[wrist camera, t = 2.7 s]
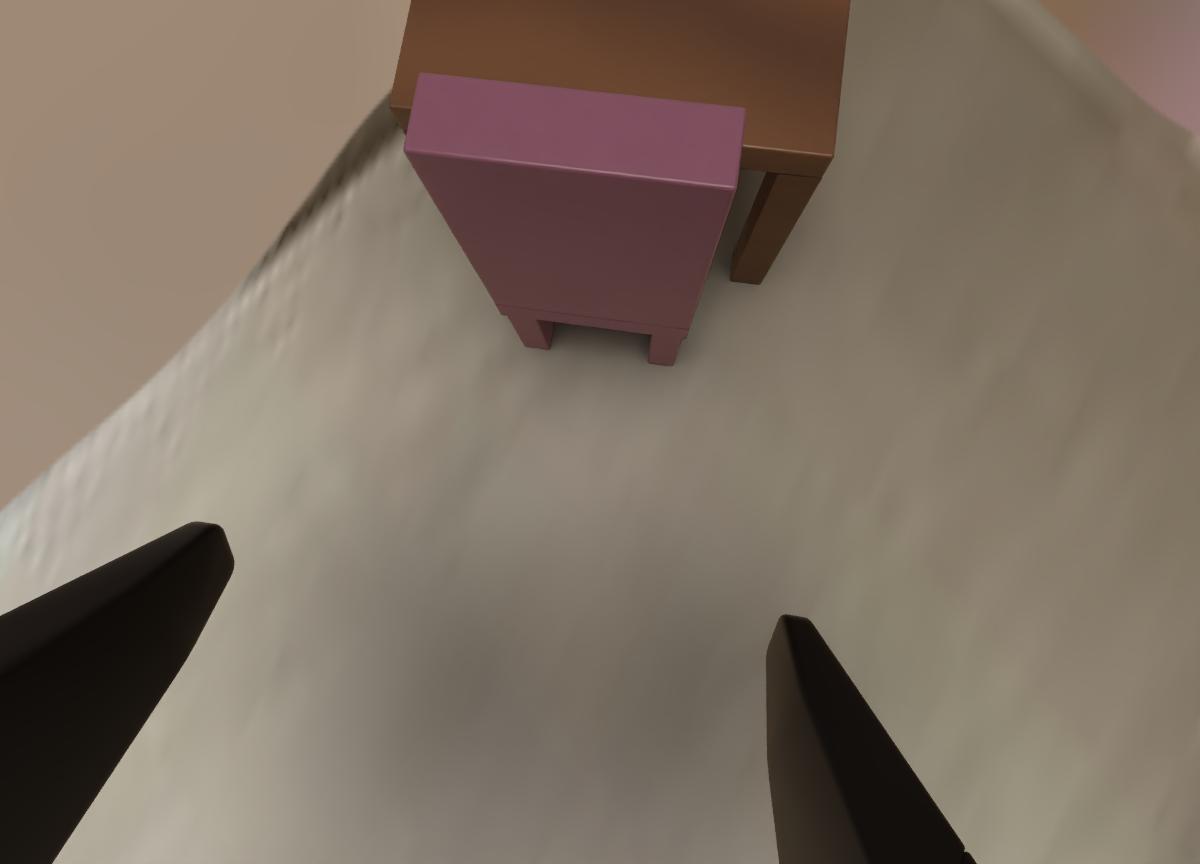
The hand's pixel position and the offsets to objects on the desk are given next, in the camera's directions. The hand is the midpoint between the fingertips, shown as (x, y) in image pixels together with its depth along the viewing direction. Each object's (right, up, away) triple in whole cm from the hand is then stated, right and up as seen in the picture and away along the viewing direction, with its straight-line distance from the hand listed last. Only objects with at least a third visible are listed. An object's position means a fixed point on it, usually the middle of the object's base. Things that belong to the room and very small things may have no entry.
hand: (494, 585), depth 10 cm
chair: (+2, +8, +14) cm, 17 cm away
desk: (+3, +13, +15) cm, 20 cm away
